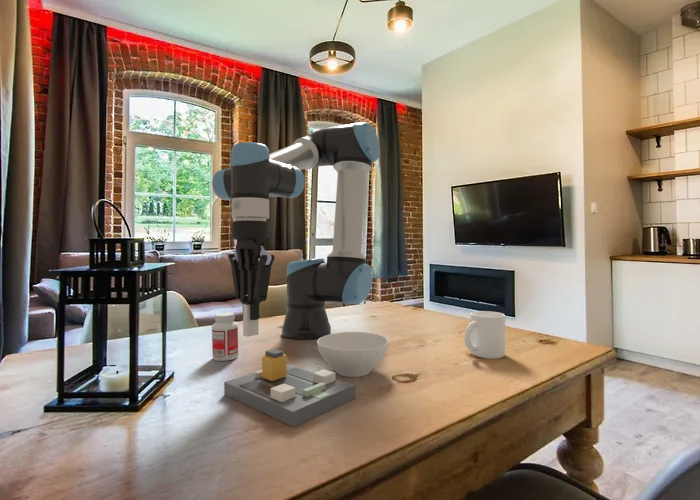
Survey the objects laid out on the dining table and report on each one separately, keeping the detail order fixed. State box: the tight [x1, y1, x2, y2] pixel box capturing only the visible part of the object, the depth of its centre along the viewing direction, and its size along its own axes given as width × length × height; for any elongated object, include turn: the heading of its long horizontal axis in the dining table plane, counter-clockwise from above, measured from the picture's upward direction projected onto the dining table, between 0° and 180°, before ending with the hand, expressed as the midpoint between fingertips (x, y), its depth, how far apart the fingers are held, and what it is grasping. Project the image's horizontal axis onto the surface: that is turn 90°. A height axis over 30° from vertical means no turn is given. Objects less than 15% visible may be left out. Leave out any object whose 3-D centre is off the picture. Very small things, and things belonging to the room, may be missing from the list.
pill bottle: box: [211, 311, 239, 362], centre depth 100 cm, size 6×6×11 cm
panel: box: [223, 363, 356, 428], centre depth 75 cm, size 20×15×4 cm
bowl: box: [316, 331, 390, 378], centre depth 89 cm, size 16×16×7 cm
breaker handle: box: [261, 348, 288, 381], centre depth 78 cm, size 3×4×5 cm
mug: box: [464, 310, 506, 360], centre depth 100 cm, size 12×8×10 cm
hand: (250, 334), depth 82 cm, fingers closed
